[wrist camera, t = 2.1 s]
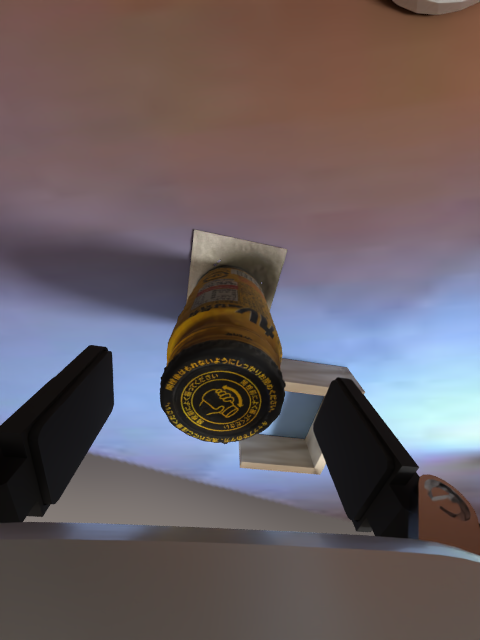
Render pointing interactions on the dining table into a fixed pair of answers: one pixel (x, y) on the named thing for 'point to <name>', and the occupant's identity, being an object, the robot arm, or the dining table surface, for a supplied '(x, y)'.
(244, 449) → the u rest
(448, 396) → the dining table surface
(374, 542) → the robot arm
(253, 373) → the condiment
